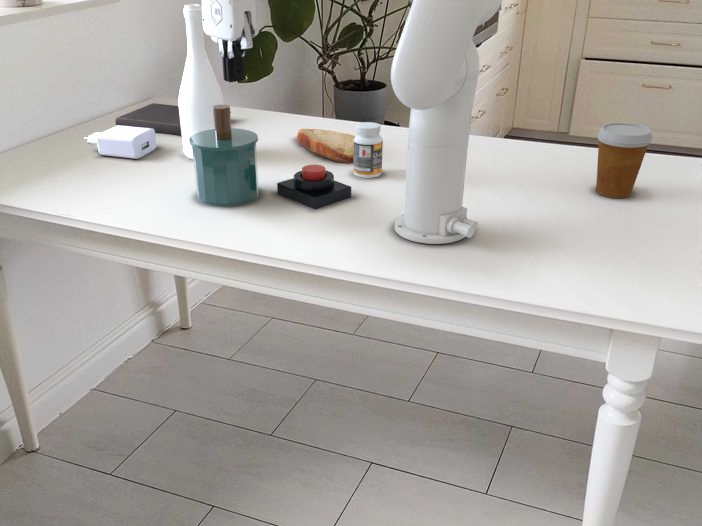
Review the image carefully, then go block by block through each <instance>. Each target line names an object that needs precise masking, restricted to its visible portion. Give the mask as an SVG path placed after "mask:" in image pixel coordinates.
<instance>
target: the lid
mask: <svg viewBox="0 0 702 526" xmlns="http://www.w3.org/2000/svg"><path fill="white" fill-rule="evenodd" d="M230 112H231V107H230V105H228V104H224V105H215V106H213V115H214V127H215V129H211V130H205V131H201V132H198V133H196V134H194V135H192V136H191V137H190V139H189V142H190V144H191V145H192V146H193V147H195V148H198V149H202V150H209V151H229V150H237V149H242V148H246V147H249V146H252V145H254V144H255V143H256V144H257V143H258V141H259V136H258V134H257V133H256V132H254V131H252V130H250V129H245V128H236V127H232V118H231V117H232V116H231V113H230Z"/></svg>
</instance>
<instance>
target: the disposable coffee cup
mask: <svg viewBox="0 0 702 526" xmlns="http://www.w3.org/2000/svg"><path fill="white" fill-rule="evenodd" d="M596 137H597V140H598V150H597V166H596V168H597V169H596V182H595V183H596V186H595V192H596V193H597V194H598V195H601V196H603V197H606V198H612V199H623V198H628V197H630V196H631V195H632V192H633V189H634V186H635V184H636V181H637V178H638V175H639V173H640V170H641V166H642V164H643V161H644V158H645V156H646V153H647V150H648V147H649V145H650V144H651V142H652V141H653V139H654V138H653V136H652V129H651V128H650V127H648V126H645V125H642V124H638V123H631V122H608V123H604V124H602V125H601V126H600V129H599V131H598V132H597V134H596Z"/></svg>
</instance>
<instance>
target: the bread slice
mask: <svg viewBox="0 0 702 526" xmlns="http://www.w3.org/2000/svg"><path fill="white" fill-rule="evenodd" d="M356 136H357V135H353V134H350V133H343V132H340V131H334V130H330V129H329V130H328V129H327V130H325V129H322V128H321V129H317V128H300V129H298V131H297V133H296V136H295V140H296V141H297V143H298V144H299V145H300V146H302V147H303V148H305V149H306V150H307V151H309V152H311V153H313V154H315V155H316V156H318V157H321V158H323V159H328V160H330V161H332V162H337V163H345V164H352V163H354V138H355V137H356Z"/></svg>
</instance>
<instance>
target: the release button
mask: <svg viewBox="0 0 702 526" xmlns="http://www.w3.org/2000/svg"><path fill="white" fill-rule="evenodd" d="M325 170H326V167H325V166H324V165H321V164H306V165H304V166H302V167H301V171H302V178H304V179H308V180H320V179H323V178H325V177H326V175H325Z"/></svg>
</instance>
